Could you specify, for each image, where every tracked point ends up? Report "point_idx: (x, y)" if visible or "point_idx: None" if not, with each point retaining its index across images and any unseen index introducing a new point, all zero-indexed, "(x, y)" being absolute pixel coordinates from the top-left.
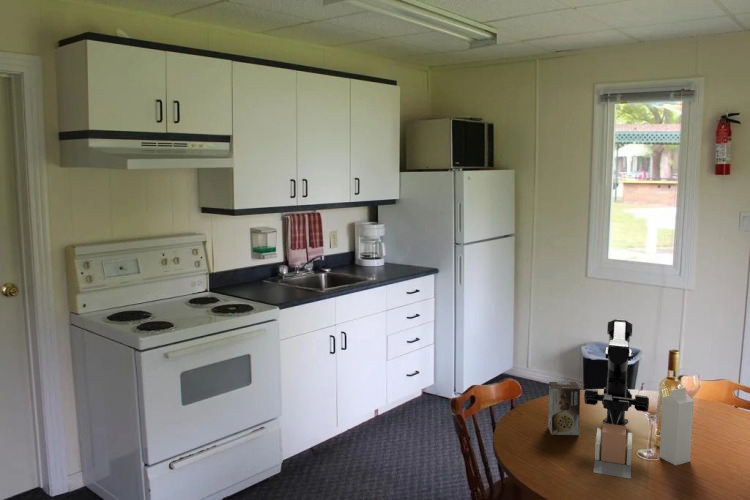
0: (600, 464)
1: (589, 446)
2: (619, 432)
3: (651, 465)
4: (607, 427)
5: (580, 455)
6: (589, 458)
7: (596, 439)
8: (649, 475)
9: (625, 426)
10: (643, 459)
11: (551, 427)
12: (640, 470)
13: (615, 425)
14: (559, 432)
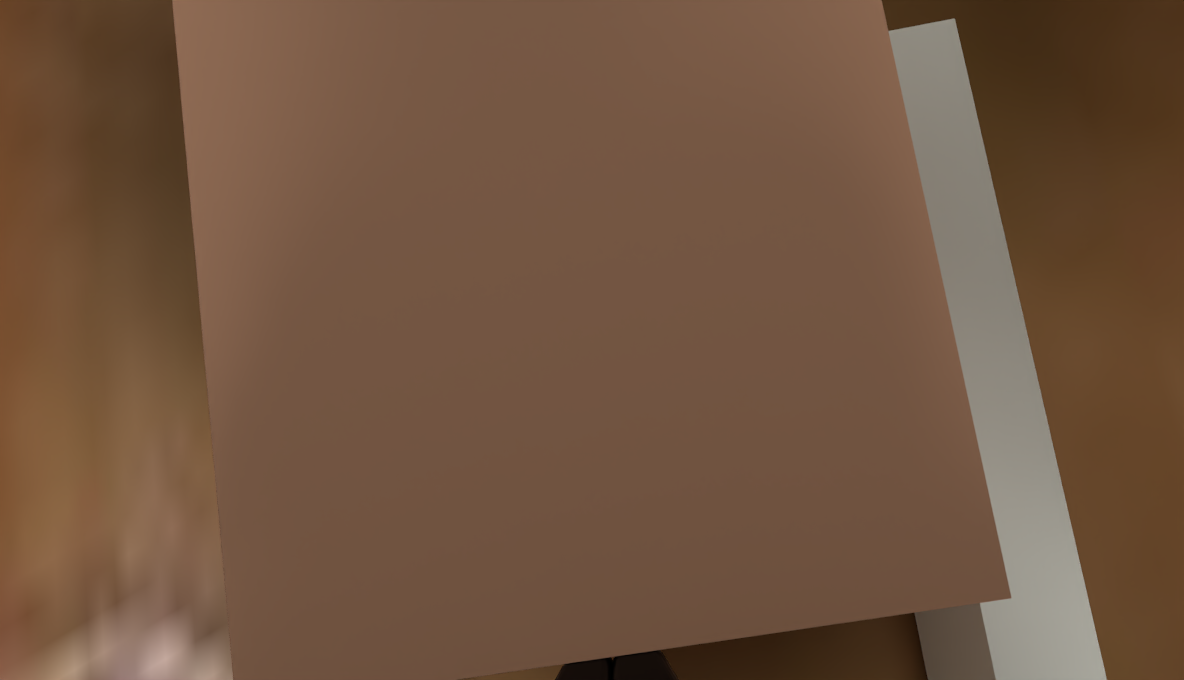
0: None
1: (1141, 664)
2: (362, 61)
3: (44, 429)
4: (779, 256)
5: (1165, 185)
6: (988, 154)
7: (1001, 272)
8: (56, 76)
9: (252, 664)
10: (171, 594)
11: None
12: (183, 165)
13: (571, 580)
14: None
